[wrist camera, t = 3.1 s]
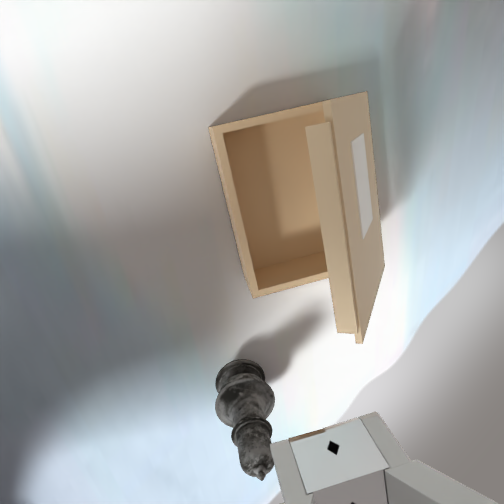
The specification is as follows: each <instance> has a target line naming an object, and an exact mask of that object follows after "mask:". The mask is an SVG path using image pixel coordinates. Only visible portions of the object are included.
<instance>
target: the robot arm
mask: <svg viewBox="0 0 504 504" xmlns="http://www.w3.org/2000/svg"><path fill="white" fill-rule="evenodd" d="M270 449H271V453H272V457H273V461H274V465H275V469H276V473H277V476H278V480H279V484H280V488H281V492H282V496H283V499H284V503H281V504H499V503H497V502H495V501H493V500H491V499H489V498H488V497H486V496H484V495H482V494H480V493H478V492H476V491H474V490H473V489H471V488H469V487H467V486H465V485H463V484H461V483H460V482H458V481H456V480H454V479H452V478H450V477H448V476H447V475H445V474H443V473H441V472H439V471H437V470H435V469H433V468H432V467H430V466H428V465H426V464H424V463H422V462H421V461H419V460H414V461H411V460H410V458H409V457H408V456H407V454H406V453H405V451H404V450H403V448H402V447H401V445H400V444H399V442H398V441H397V439H396V438H395V437H394V435H393V434H392V432H391V431H390V429H389V428H388V426H387V425H386V423H385V422H384V420H383V419H382V418H381V416H380V415H379V414H378V413H377V412H373V413H370V414H366V415H363V416H360V417H358V418H353V419H350V420H347V421H344V422H341V423H338V424H335V425H332V426H329V427H325V428H323V429H320V430H317V431H313V432H310V433H306V434H302V435H299V436H295V437H292V438H288V439H286V440H282V441H279V442H275V443H272V444H270Z"/></svg>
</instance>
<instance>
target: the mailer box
mask: <svg viewBox="0 0 504 504" xmlns="http://www.w3.org/2000/svg"><path fill="white" fill-rule="evenodd" d="M321 123H325V118H324V111H323V104H322V102H317V103H313V104H309V105H304V106H300V107H296V108H291V109H287V110H282V111H278V112H274V113H269V114H265V115H260V116H256V117H252V118H247V119H243V120H239V121H234V122H230V123H225V124H221V125H217V126H212V127H208V129H209V133H210V137H211V141H212V145H213V150H214V154H215V158H216V162H217V166H218V170H219V174H220V179H221V183H222V187H223V191H224V195H225V199H226V203H227V208H228V212H229V216H230V220H231V224H232V228H233V232H234V236H235V241H236V245H237V249H238V253H239V257H240V261H241V265H242V270H243V274H244V277H245V280H246V282H247V285H248V287H249V290H250V292H251V295H252V297H253V298H257V297H260V296H264V295H268V294H271V293H275V292H279V291H282V290H286V289H290V288H293V287H297V286H301V285H304V284H308V283H311V282H315V281H319V280H322V279H326V278H329V276H328V270H327V264H326V257H325V251H324V245H323V238H322V232H321V225H320V219H319V213H318V206H317V200H316V194H315V187H314V181H313V175H312V168H311V162H310V155H309V149H308V143H307V136H306V130H305V127H307V126H311V125H316V124H321Z"/></svg>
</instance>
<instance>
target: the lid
mask: <svg viewBox="0 0 504 504" xmlns="http://www.w3.org/2000/svg"><path fill="white" fill-rule="evenodd" d="M322 104H323V111H324V118H325V123H321V124H316V125H311V126H307V127H305V130H306V136H307V143H308V149H309V155H310V162H311V168H312V175H313V181H314V187H315V194H316V200H317V206H318V213H319V219H320V225H321V232H322V238H323V245H324V251H325V257H326V264H327V270H328V276H329V283H330V289H331V295H332V302H333V308H334V314H335V321H336V327H337V333H350V334H355V341H356V343H358V344H363V341H364V337H365V334H366V330H367V327H368V323H369V320H370V316H371V313H372V309H373V306H374V302H375V299H376V295H377V292H378V288H379V285H380V281H381V278H382V274H383V271H384V267H385V263H384V253H383V243H382V233H381V223H380V213H379V203H378V193H377V183H376V173H375V163H374V153H373V143H372V133H371V123H370V113H369V103H368V93H367V91H366V92H361V93H357V94H352V95H348V96H343V97H338V98H334V99H329V100H325V101H322Z"/></svg>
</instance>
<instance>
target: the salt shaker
mask: <svg viewBox="0 0 504 504" xmlns="http://www.w3.org/2000/svg"><path fill="white" fill-rule="evenodd" d="M216 389H217V392H218V393H219V394H218V396H217V399H216V402H215V410H216V413H217V416H218V417H219V419H220V420H221V421H222V422H223V423H224V424H226V425H228V426H230V427H233V430H232V435H231V438H232V441H233V443H234V444H235V446H237V447H238V453H239V459H240V464H241V467H242V469H243V471H244V472H245V473H246V474H248V475H250V476H252V477H257V478H258V479H260V480H261V481H263V479H264V478H265V476H266V474H267V473H269V472H270V471H271V469H272V468H273V466H274V461H273V457H272V453H271V449H270V444H272V443H271V440H270V438H271V436H272V427H271V425H270V423H269V422H268V421H267V420H266V418H267V417H268V416H269V415H270V413H271V412H272V410H273V407H274V403H275V397H274V392H273V391H272V389H271V387H270V386H269V385H268V384H267V383H266V382H265V376H264V372H263V370H262V368H261V367H260V366H259V365H258V364H257V363H255V362H253V361H250V360H236V361H232V362H230V363H228V364H227V365H225V366H224V367H223V368H222V369H221V370H220V372H219V373H218V375H217V378H216Z"/></svg>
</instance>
